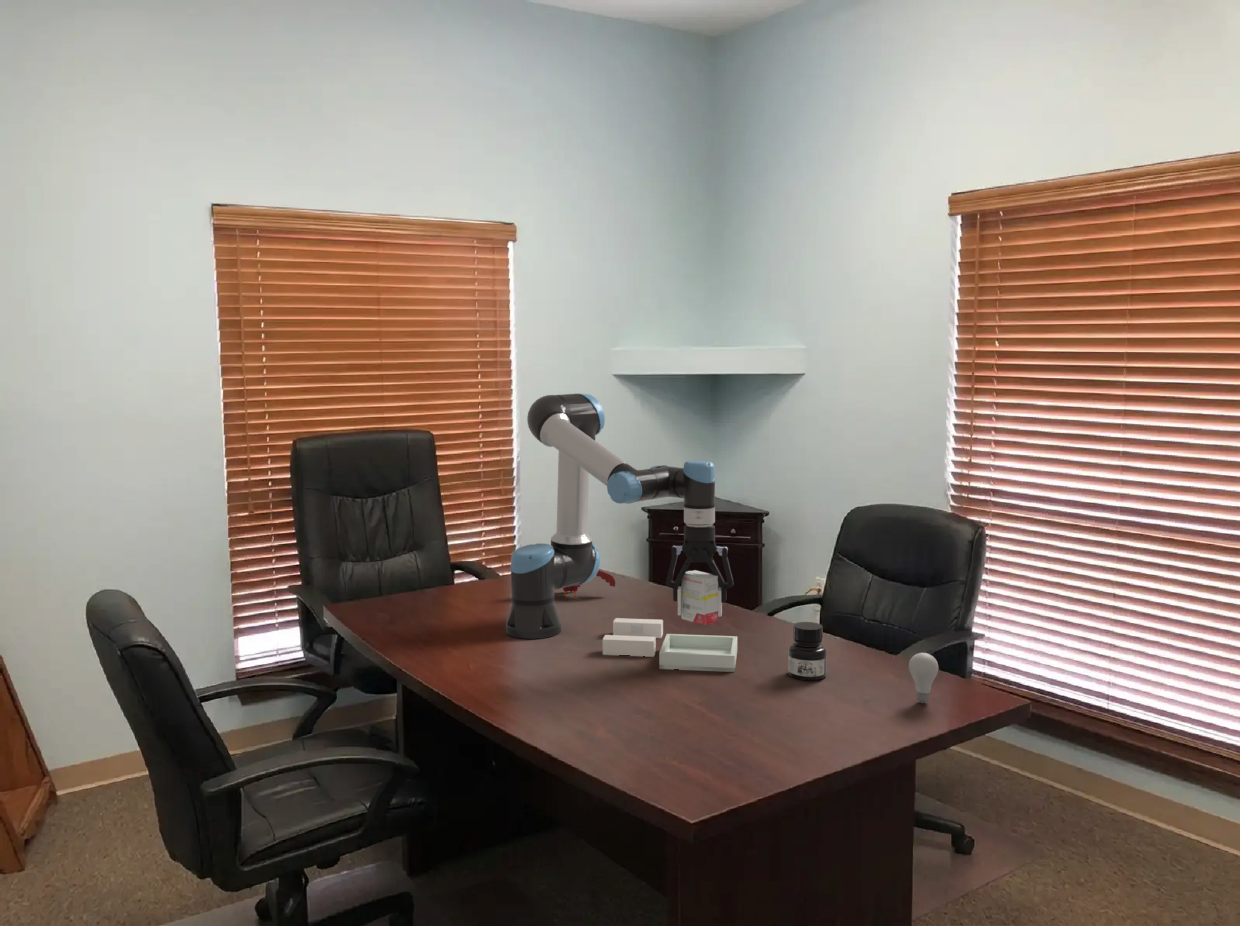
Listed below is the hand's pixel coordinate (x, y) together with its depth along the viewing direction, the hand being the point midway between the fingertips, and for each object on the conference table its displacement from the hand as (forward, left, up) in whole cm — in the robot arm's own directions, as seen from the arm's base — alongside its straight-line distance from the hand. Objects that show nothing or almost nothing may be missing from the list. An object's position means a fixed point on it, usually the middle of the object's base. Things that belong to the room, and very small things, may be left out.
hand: (699, 614), depth 238 cm
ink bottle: (+26, -8, -12) cm, 30 cm away
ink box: (0, 0, -2) cm, 2 cm away
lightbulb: (+50, -23, -12) cm, 56 cm away
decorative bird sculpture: (-45, +58, -12) cm, 74 cm away
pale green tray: (0, 0, -12) cm, 12 cm away
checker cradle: (-18, +11, -12) cm, 24 cm away
